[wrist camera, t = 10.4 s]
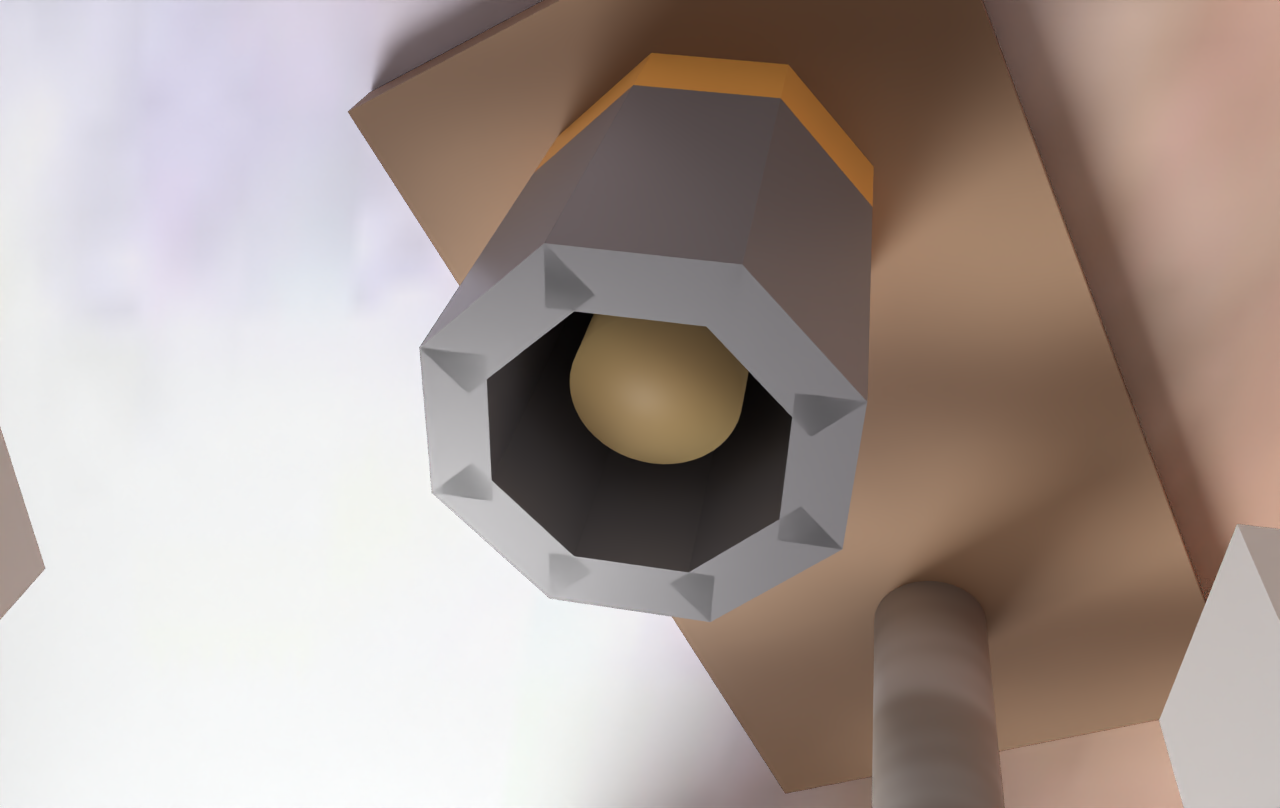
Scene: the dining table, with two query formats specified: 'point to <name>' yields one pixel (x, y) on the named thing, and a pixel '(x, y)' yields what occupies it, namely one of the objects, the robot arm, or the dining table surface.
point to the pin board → (869, 393)
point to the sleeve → (678, 293)
